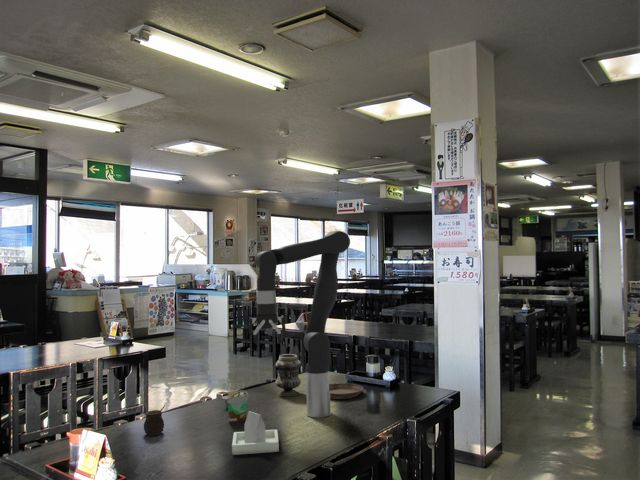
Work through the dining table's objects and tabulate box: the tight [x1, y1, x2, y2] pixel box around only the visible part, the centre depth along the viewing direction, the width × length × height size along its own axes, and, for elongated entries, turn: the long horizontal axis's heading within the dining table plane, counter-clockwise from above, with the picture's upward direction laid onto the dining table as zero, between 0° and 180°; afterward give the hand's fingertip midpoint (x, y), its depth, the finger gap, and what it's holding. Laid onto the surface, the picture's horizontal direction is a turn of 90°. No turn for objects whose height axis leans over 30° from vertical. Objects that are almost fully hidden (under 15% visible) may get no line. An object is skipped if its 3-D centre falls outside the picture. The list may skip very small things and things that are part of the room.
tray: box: [231, 428, 280, 456], centre depth 171 cm, size 15×13×3 cm
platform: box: [222, 390, 238, 409], centre depth 220 cm, size 12×18×7 cm, turn 136°
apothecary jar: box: [275, 353, 302, 398], centre depth 239 cm, size 12×12×18 cm
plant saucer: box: [329, 382, 364, 400], centre depth 235 cm, size 21×21×3 cm
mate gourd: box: [143, 405, 166, 437], centre depth 186 cm, size 7×8×10 cm
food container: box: [227, 389, 250, 424], centre depth 201 cm, size 12×6×10 cm, turn 168°
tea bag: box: [244, 410, 266, 443], centre depth 171 cm, size 4×7×10 cm, turn 44°
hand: (267, 343), depth 198 cm, fingers open, 8 cm apart
